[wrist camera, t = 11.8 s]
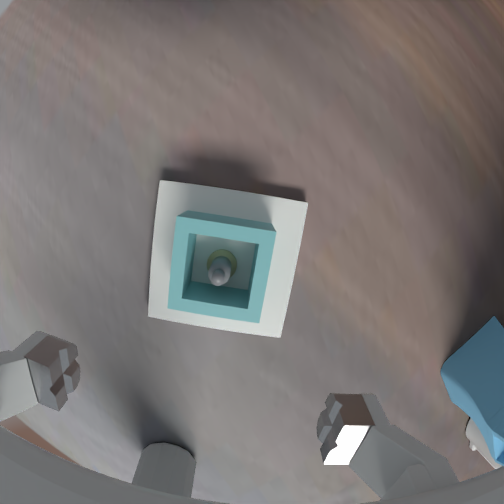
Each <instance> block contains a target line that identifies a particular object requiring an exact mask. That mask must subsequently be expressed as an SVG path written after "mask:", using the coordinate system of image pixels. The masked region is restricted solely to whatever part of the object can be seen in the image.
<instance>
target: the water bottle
mask: <svg viewBox="0 0 504 504" xmlns="http://www.w3.org/2000/svg"><path fill="white" fill-rule="evenodd" d="M195 468H196V461H195V459H194V458H193V457H192V456H191V454H190V453H189V452H188V451H186V450H185V449H183V448H181V447H179V446H178V445H173V444H169V443H165V442H164V443H153V444H150V445H149V446H147V447H146V448H145V449H143V451H142V454H141V457H140V460H139V463H138V466H137V469H136V472H135V475H134V478H133V481H132V484H134V485H138V486H142V487H145V488H149V489H153V490H157V491H161V492H165V493H169V494H174V495H179V496H184V497H189V498H191V493H192V487H193V480H194V474H195Z"/></svg>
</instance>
